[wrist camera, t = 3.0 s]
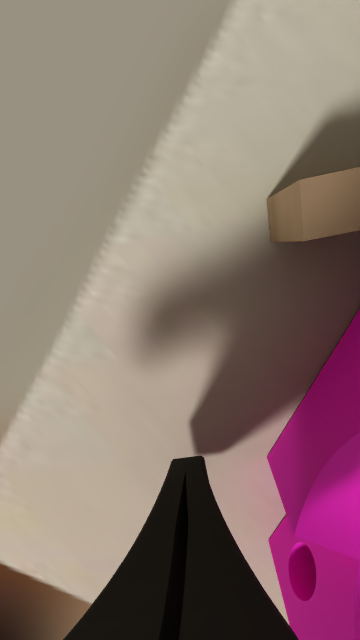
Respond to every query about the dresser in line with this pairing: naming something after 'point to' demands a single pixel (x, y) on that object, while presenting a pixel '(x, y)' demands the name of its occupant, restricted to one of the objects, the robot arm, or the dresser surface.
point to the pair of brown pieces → (316, 207)
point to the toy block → (322, 501)
